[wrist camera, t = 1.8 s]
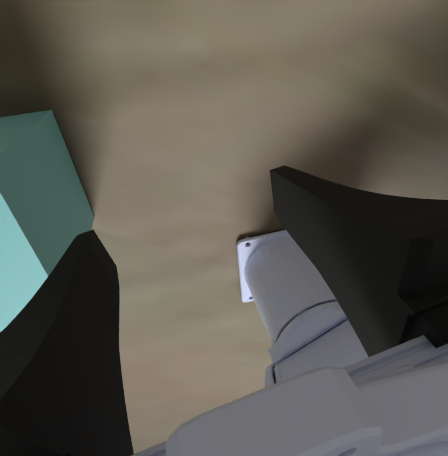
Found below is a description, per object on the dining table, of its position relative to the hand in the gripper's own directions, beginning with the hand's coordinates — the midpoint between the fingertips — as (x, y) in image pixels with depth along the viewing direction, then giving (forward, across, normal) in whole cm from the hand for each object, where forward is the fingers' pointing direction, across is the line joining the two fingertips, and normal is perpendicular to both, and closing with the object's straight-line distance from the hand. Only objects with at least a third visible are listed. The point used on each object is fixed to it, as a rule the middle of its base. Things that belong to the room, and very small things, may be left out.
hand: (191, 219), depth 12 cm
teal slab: (+12, +8, +1) cm, 15 cm away
